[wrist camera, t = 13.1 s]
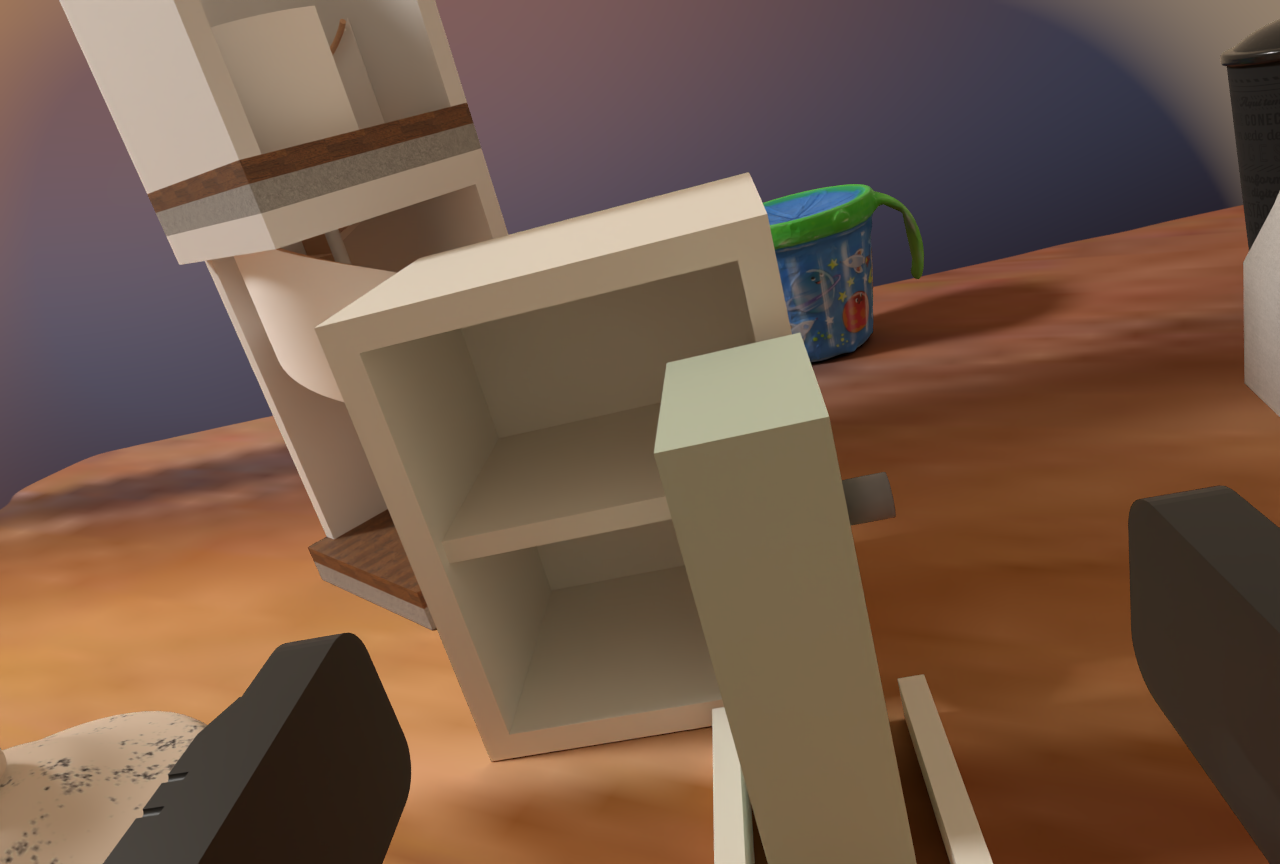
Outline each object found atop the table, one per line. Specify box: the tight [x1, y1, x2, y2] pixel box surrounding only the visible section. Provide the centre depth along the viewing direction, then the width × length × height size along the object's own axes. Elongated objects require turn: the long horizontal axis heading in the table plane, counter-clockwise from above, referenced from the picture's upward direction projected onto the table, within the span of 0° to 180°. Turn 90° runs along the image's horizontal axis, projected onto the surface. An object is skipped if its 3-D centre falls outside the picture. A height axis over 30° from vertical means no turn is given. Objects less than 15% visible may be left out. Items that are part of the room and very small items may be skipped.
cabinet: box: [314, 172, 993, 864], centre depth 27 cm, size 15×18×16 cm
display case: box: [59, 0, 508, 630], centre depth 41 cm, size 11×11×35 cm
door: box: [654, 333, 917, 864], centre depth 23 cm, size 5×6×13 cm
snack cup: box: [763, 184, 924, 362], centre depth 60 cm, size 16×10×10 cm
